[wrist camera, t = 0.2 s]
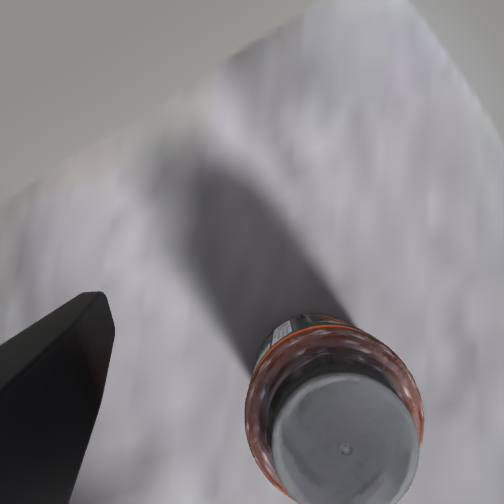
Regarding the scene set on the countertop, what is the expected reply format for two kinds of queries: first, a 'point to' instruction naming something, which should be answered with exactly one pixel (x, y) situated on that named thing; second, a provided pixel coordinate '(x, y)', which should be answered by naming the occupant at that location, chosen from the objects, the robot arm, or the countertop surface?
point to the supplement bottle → (333, 414)
